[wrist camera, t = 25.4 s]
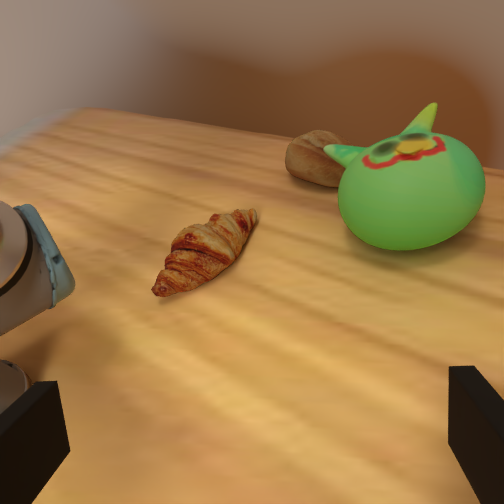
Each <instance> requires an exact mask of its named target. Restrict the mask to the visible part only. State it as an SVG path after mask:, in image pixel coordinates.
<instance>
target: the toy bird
mask: <svg viewBox="0 0 504 504" xmlns="http://www.w3.org/2000/svg"><path fill="white" fill-rule="evenodd" d="M437 107H438V106H437V103H431V104H429V105H428V106H427V107H425V108H424V109H423V110H422V111H421V112H420V113H419V114H418V115H417V116H416V118H415V119H414V120H413V121H412V122H411V123H410V124H409V125H408V127H407V128H405V130H404V131H403V132H402V133H401V134H400V135H397V136H393V137H390V138H387V139H384V140H382V141H380V142H378V143H375V144H374V145H372V146H370V147H368V148H366V147H356V146H348V145H338V144H331V145H327V146H325V147H324V149H323V150H324V152H325V153H326V154H327V155H328V156H330V157H331V158H332V159H334V160H335V161H336V162H338V163H339V164H341V165H342V166H343V167H345V168H346V170H345V171H344V173H343V175H342V178H341V180H340V184H339V188H338V205H339V210H340V213H341V216H342V218H343V220H344V222H345V224H346V225H347V227H348V228H349V229H350V230H351V231H352V232H353V233H354V234H355V235H356V236H357V237H358V238H359V239H361V240H362V241H364V242H366V243H368V244H370V245H372V246H375V247H378V248H382V249H387V250H415V249H421V248H425V247H429V246H432V245H435V244H438V243H440V242H442V241H445V240H447V239H448V238H450V237H452V236H454V235H455V234H457V233H458V232H459V231H461V230H462V229H463V228H464V227H466V226H467V225H468V224H469V223H470V222H471V220H472V219H473V218H474V217H475V215H476V214H477V212H478V210H479V209H480V206H481V204H482V202H483V198H484V194H485V176H484V172H483V169H482V166H481V164H480V162H479V160H478V159H477V157H476V156H475V154H474V153H473V152H472V151H471V150H470V149H469V148H468V147H467V146H466V145H464V144H463V143H462V142H460V141H458V140H457V139H454V138H452V137H449V136H446V135H443V134H437V133H431V130H432V126H433V123H434V119H435V116H436V112H437Z"/></svg>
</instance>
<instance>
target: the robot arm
mask: <svg viewBox="0 0 504 504" xmlns="http://www.w3.org/2000/svg"><path fill="white" fill-rule="evenodd" d="M74 289H75V280H74V277H73V275H72V273H71V271H70V269H69V267H68V265H67V264H66V262H65V260H64V258H63V257H62V255H61V253H60V251H59V249H58V247H57V245H56V243H55V242H54V240H53V238H52V236H51V234H50V233H49V231H48V229H47V227H46V225H45V224H44V222H43V220H42V219H41V217H40V215H39V213H38V212H37V210H36V209H35V208H34V207H33V206H32V205H30V204H24V205H22V206H16V207H14V208H12V207H11V206H9V205H8V204H6V203H4V202H2V201H0V336H2V335H3V334H5V333H7V332H9V331H10V330H12V329H14V328H15V327H17V326H19V325H21V324H22V323H24V322H26V321H27V320H29V319H31V318H33V317H34V316H36V315H38V314H40V313H41V312H43V311H45V310H46V309H51V308H53V307H55V305H56V304H57V303H58V302H60V301H61V300H63V299H64V298H66V297H67V296H69V295H70V294H71V293H72V292H73V291H74ZM448 444H449V446H450V447H451V449H452V451H453V453H454V455H455V457H456V459H457V460H458V462H459V464H460V466H461V468H462V470H463V472H464V473H465V475H466V477H467V479H468V481H469V483H470V485H471V486H472V488H473V490H474V492H475V494H476V496H477V498H478V500H479V501H480V503H481V504H504V400H503V399H502V398H501V397H500V395H499V394H498V393H497V392H496V391H495V390H494V388H493V387H492V386H491V385H490V384H489V383H488V381H487V380H486V379H485V378H484V377H483V376H482V374H481V373H480V372H479V371H478V370H477V369H476V367H475V366H449V405H448ZM69 452H70V446H69V441H68V436H67V430H66V425H65V420H64V415H63V409H62V404H61V399H60V393H59V388H58V383H57V381H40V382H35V383H34V384H33V385H32V382H31V380H30V378H29V376H28V375H27V374H26V373H25V372H24V371H23V370H22V369H21V368H20V367H19V366H17V365H16V364H14V363H11V362H9V361H6V360H1V359H0V504H32V502H33V501H34V500H35V498H36V497H37V496H38V494H39V493H40V491H41V490H42V489H43V487H44V486H45V485H46V483H47V482H48V481H49V479H50V478H51V477H52V475H53V474H54V472H55V471H56V470H57V468H58V467H59V466H60V464H61V463H62V462H63V460H64V459H65V458H66V456H67V455H68V454H69Z"/></svg>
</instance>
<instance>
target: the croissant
mask: <svg viewBox="0 0 504 504" xmlns="http://www.w3.org/2000/svg"><path fill="white" fill-rule="evenodd" d="M256 218H257V213H256V210H255V209H250V210H239V209H237V210H235V211H234V212H233V213H231V214H225V215H221V214H213V215H212V216H211V218H210V220H209V222H208V223H207V224H205V225H201V224H194V225H191V226H189V227H187V228H184V229H183V230H182V231H181V232H180V233H179V234H178V235H177V237H176V238H175V239H174V240H173V242H172V247H171V254H169V255H168V256H167V257H166V259H165V270H161V271H160V273H159V275H158V276H157V279H156V282H155V285H154V286H153V287H152V289H151V290H152V292H153V293H154V294H155V295H156V296H160V297H166V296H169V295H171V294H175V293H177V292H184V291H185V292H186V291H189V290H192V289H194V288H197V287H198V286H199V285H201V284H202V283H204V282H207V281H210V280H212V279H213V278H215V277H216V276H217V275H218V274H219V273H220V272H221V271H223V270H224V269H226V268H227V267H228V266H229V265H231V264H232V263H233V261H234V260H236V258H237V257H238V256H239V254H240V252H241V249H242V245H243V244H244V243H245V242H246V240H247V238H248V236H249V232H250V229H252V228H253V226H254V224H255V222H256Z"/></svg>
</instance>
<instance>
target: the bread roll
mask: <svg viewBox="0 0 504 504" xmlns="http://www.w3.org/2000/svg"><path fill="white" fill-rule="evenodd" d="M331 144H338V145H348V146H352V145H351V144H350V143H349V142H348V141H347V140H346V139H344V138H342V137H340V136H338V135H336V134H334V133H331V132H328V131H324V130H315V131H311V132H309V133H306V134H304V135H302V136H299V137H297V138H296V139H294V140H292V142H291V143H290V144H289V145H288V148H287V151H286V158H285V165H286V169H287V170H288V171H289V172H290V173H291V174H292V175H293V176H295V177H297V178H300V179H302V180H306V181H309V182H313V183H316V184H319V185H324V186H328V187H339V184H340V180H341V178H342V175H343V173H344V171H345V170H346V168H345V167H343V166H342V165H341V164H339V163H338V162H336V161H335V160H334V159H332V158H331V157H330V156H328V155H327V154H326V153H325V152H324V150H323V149H324V147H325V146H327V145H331Z"/></svg>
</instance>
